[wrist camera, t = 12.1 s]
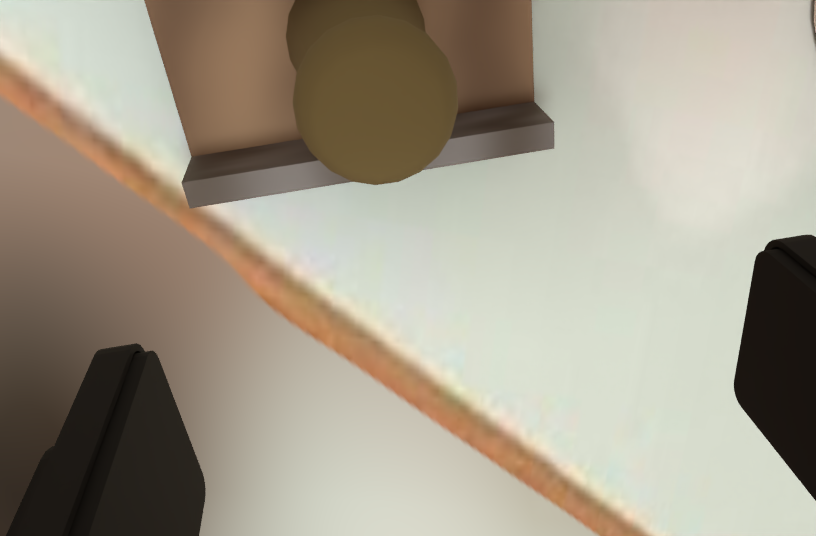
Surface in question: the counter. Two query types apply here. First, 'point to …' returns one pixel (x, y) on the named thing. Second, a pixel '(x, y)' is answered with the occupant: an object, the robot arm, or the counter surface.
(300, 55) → the olive brown pawn
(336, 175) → the track
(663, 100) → the counter surface
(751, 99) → the counter surface
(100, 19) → the counter surface
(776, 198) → the counter surface
